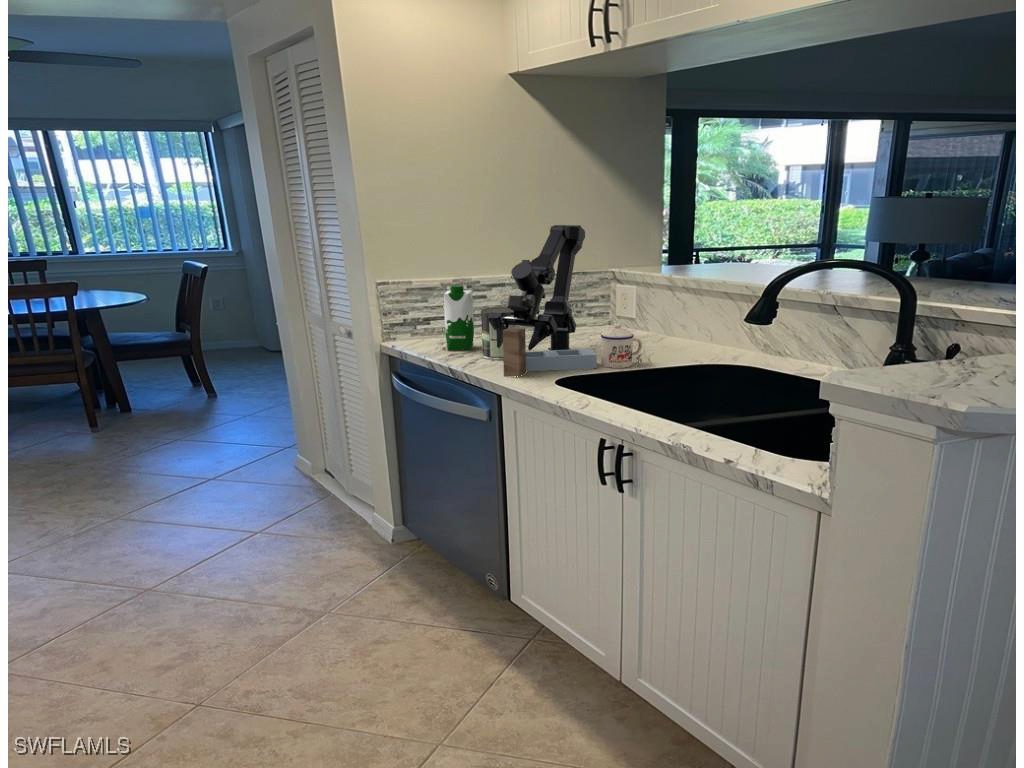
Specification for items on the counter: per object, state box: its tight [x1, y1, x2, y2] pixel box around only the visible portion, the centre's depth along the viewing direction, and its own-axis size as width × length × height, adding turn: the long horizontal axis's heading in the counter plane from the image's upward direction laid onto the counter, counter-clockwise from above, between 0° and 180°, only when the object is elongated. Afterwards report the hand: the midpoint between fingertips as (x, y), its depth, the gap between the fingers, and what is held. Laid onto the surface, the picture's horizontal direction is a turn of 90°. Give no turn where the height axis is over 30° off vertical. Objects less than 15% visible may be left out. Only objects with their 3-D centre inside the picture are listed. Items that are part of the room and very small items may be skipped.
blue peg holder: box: [526, 348, 598, 372], centre depth 214 cm, size 22×8×4 cm, turn 96°
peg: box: [503, 327, 527, 378], centre depth 206 cm, size 4×4×12 cm
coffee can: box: [480, 306, 516, 361], centre depth 228 cm, size 10×10×14 cm
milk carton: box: [443, 284, 475, 352], centre depth 240 cm, size 9×9×20 cm
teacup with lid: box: [600, 323, 643, 369], centre depth 215 cm, size 12×9×12 cm
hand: (513, 348), depth 205 cm, fingers open, 9 cm apart
